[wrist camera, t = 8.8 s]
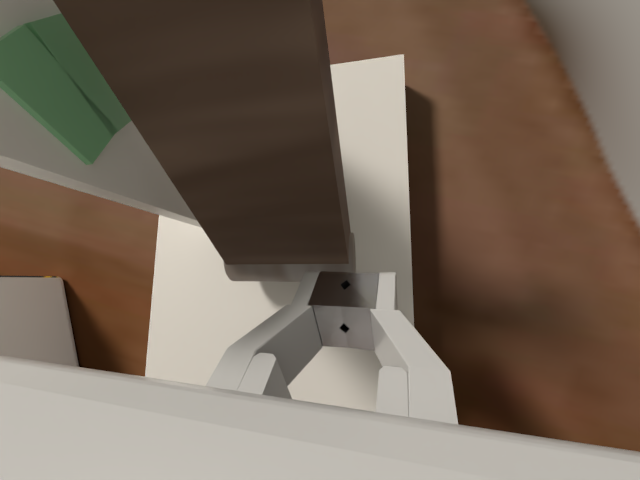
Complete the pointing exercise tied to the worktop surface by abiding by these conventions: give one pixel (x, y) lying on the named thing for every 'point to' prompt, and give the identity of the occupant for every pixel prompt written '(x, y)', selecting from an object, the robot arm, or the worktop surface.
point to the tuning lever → (234, 121)
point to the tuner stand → (175, 216)
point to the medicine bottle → (36, 320)
